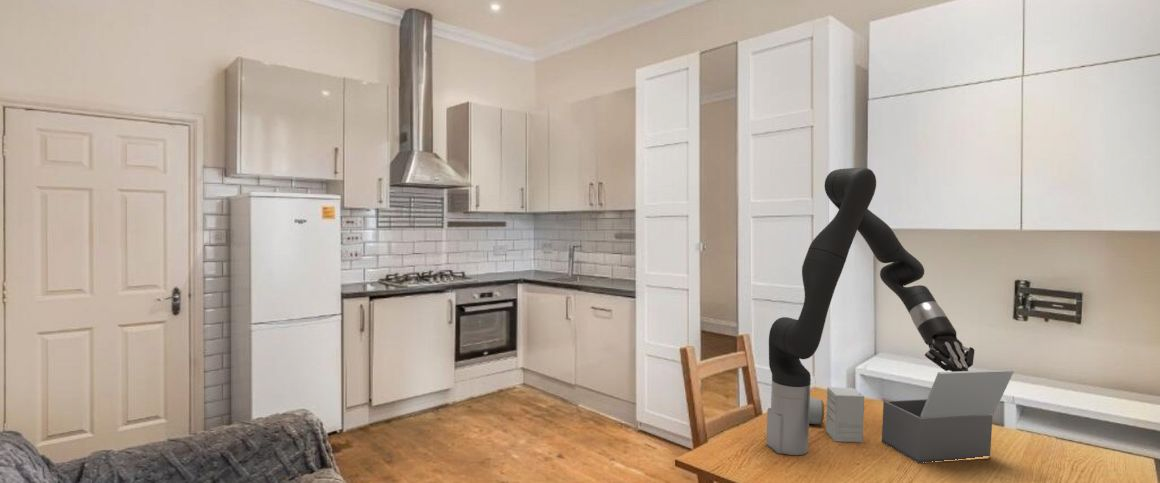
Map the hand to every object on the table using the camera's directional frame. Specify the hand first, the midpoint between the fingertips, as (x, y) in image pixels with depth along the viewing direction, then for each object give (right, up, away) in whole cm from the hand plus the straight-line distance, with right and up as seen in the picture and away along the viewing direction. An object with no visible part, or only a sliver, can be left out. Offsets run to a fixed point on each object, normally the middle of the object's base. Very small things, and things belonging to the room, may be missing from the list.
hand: (969, 384), depth 136 cm
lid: (0, -2, +1) cm, 2 cm away
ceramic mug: (-27, -18, +30) cm, 44 cm away
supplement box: (-22, -19, +18) cm, 34 cm away
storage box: (-2, -19, +10) cm, 22 cm away
